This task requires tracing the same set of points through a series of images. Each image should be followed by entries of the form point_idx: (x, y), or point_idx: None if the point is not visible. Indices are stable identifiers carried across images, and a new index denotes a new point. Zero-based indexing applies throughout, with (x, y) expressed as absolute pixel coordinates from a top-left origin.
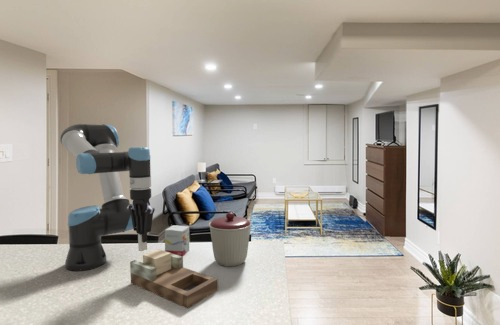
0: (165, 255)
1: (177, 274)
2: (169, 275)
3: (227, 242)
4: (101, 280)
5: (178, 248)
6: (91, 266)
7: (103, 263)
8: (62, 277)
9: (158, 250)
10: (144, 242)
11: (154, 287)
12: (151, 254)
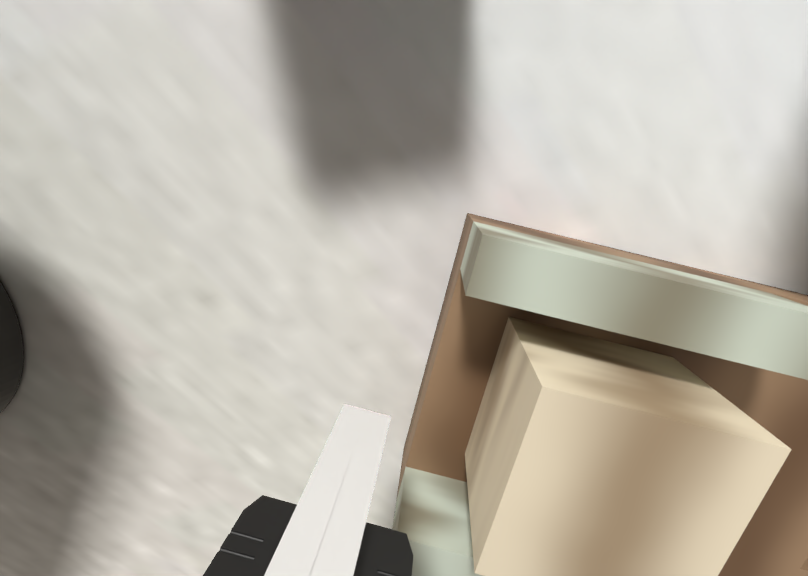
0: (748, 516)
1: (782, 428)
2: None
3: None
4: (216, 466)
5: None
6: (5, 384)
7: (2, 292)
8: (3, 497)
9: (571, 423)
10: (366, 523)
11: None
12: (564, 542)
